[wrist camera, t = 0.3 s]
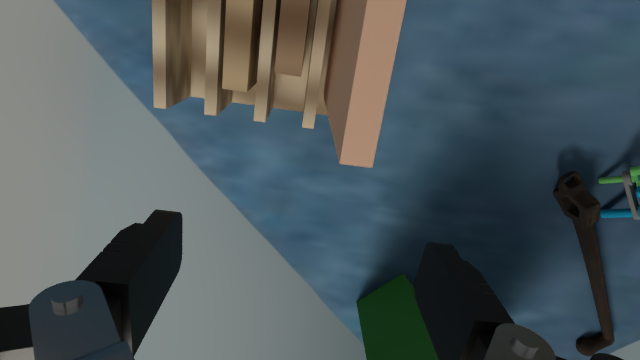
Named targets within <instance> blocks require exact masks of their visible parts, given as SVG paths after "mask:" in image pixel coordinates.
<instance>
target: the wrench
mask: <svg viewBox="0 0 640 360" xmlns="http://www.w3.org/2000/svg"><path fill="white" fill-rule="evenodd" d="M573 175H574V176H573ZM572 176H573V177H572ZM570 177H572V179H571V180H570V181H568V182H566V183H565V181H566V180H567V179H568V178H570ZM553 194H554V196H555V198H556V199H557V201H558V203H559V204H560V206H561V208H562V210H563V212H564V213H565V215H566V216H568V217H570V218H571V219H572V220H573V223H574V226H575V229H576V232H577V236H578V239H579V242H580V246H581V249H582V253H583V257H584V260H585V264H586V268H587V272H588V276H589V280H590V284H591V288H592V292H593V296H594V300H595V305H596V309H597V313H598V317H599V322H600V326H601V333H600V334H598V335H596V336H594V337H592V338H590V339H587V338H581V339H579V340H578V341H577V342H576V348H577V350H578V351H579V352H580V353H581V354H583V355H585V356H592V355H594V354H595V353H596V352H597V351H599V350H601V349H603V348H605V347H607V346H610V345H612V344H613V343H614V334H613V329H612V324H611V318H610V312H609V306H608V299H607V293H606V287H605V281H604V275H603V269H602V264H601V258H600V252H599V246H598V241H597V237H596V233H595V229H594V225H593V224H594V223H596V222H597V221H598V219H599V212H600V203H599V202H598V201H597V200H596V199H595V198H594V197H593V196H592V195H591V194H590V193H589V192H588V191H587V190H586V189H585V185H584V182H583V179H582V178H581V176H580V174H579V173H578V172H575V171H572V172H569V173H567V174H565V175H563V176H562V177H561V178H560V180H559V182H558V189H556V190H555V191H554V192H553Z"/></svg>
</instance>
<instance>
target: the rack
mask: <svg viewBox="0 0 640 360" xmlns="http://www.w3.org/2000/svg"><path fill="white" fill-rule="evenodd" d="M336 1H337V0H311V4H310V12H309V21H308V29H307V37H306V45H305V54H304V62H303V69H302V74H301V77H298V76H291V75H284V74H277V73H274V71H275V61H276V50H277V40H278V29H279V19H280V8H281V0H263V10H262V23H261V35H260V48H259V60H258V73H257V83H256V84H255V85H254V86H253V87H252V88H251V89H250V90H249V91H248V92H242V91H235V90H228V89H222V80H223V58H224V37H225V16H226V0H152V32H153V87H154V107H155V108H162V109H167V108H169V107H171V106H173V105H175V104H177V103H179V102H181V101H183V100H184V99H186V98H188V97H190V96H191V97H199V98H205V108H204V114H207V115H214V116H216V115H218V114H219V113H220V112H221V111H222V110H223V109H225V108H226V107H227V106H228V105H229V104H230V103H231V102H235V103H243V104H250V105H255V111H254V121H259V122H266V120H267V118H268V116H269V114H270V112H271V110H272V108H279V109H286V110H294V111H301V112H303V122H302V127H304V128H312V129H314V122H315V114H323V115H328V114H327V110H326V105H325V101H324V97H323V92H324V85H325V78H326V71H327V64H328V57H329V50H330V43H331V36H332V29H333V22H334V15H335V8H336Z"/></svg>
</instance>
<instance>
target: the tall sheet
mask: <svg viewBox="0 0 640 360" xmlns="http://www.w3.org/2000/svg"><path fill="white" fill-rule="evenodd" d="M406 1H407V0H337V1H336V8H335V15H334V22H333V29H332V36H331V43H330V50H329V57H328V64H327V71H326V78H325V85H324V92H323V97H324V101H325V105H326V110H327V114H328V118H329V122H330V126H331V130H332V135H333V139H334V143H335V147H336V151H337V156H338V160H339V164H345V165H353V166H361V167H369V168H372V167H373V162H374V157H375V152H376V147H377V142H378V137H379V132H380V128H381V123H382V118H383V113H384V108H385V103H386V98H387V93H388V88H389V84H390V79H391V74H392V69H393V64H394V59H395V54H396V49H397V45H398V40H399V35H400V30H401V25H402V20H403V15H404V10H405V6H406Z"/></svg>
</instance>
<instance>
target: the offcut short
mask: <svg viewBox="0 0 640 360" xmlns="http://www.w3.org/2000/svg"><path fill="white" fill-rule="evenodd" d="M262 10H263V0H226V16H225V37H224V58H223V80H222V89H228V90H235V91H242V92H248V91H249V90H250V89H251V88H252V87H253V86H254V85H255V84H256V83H257V73H258V60H259V48H260V35H261V23H262Z"/></svg>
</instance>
